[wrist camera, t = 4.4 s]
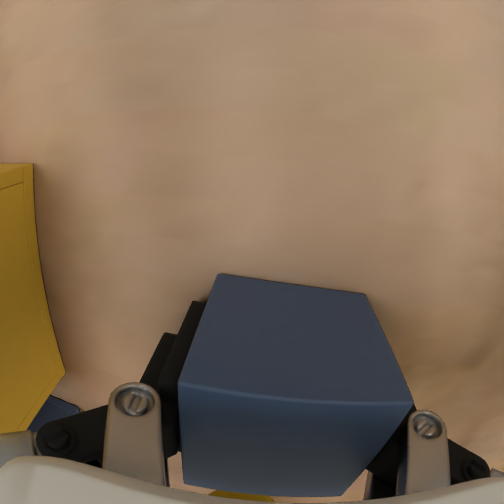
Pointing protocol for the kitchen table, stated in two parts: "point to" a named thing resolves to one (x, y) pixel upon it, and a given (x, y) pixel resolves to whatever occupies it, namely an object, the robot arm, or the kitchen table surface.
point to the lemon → (241, 496)
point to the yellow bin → (23, 307)
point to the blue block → (286, 390)
